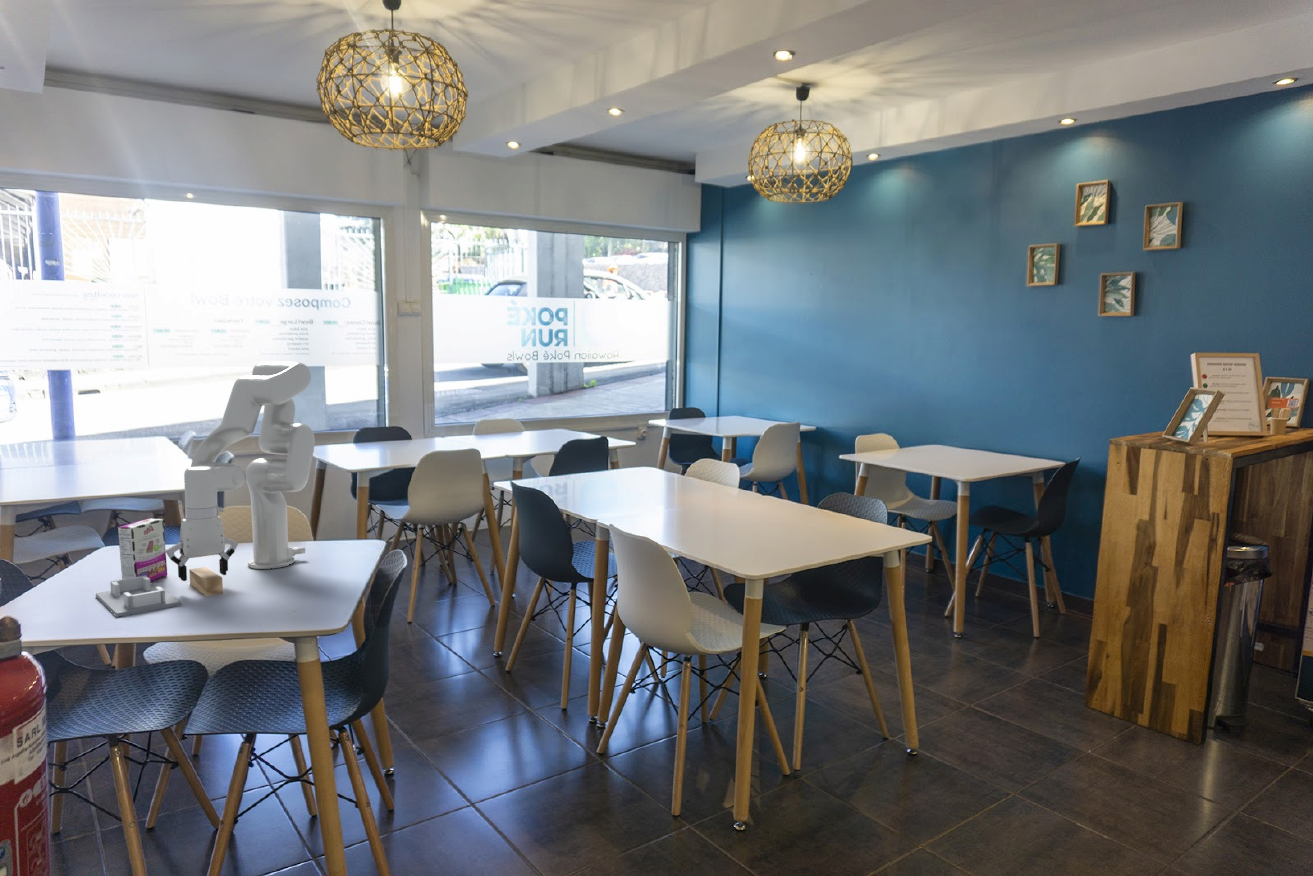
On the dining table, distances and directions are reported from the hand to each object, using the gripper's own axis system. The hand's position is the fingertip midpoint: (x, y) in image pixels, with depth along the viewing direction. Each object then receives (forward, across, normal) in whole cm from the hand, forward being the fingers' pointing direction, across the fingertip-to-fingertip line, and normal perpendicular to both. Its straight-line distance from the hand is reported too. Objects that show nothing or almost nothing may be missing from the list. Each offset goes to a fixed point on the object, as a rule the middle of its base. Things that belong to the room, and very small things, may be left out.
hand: (203, 577), depth 227 cm
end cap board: (+4, +15, 0) cm, 16 cm away
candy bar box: (+4, +9, -19) cm, 22 cm away
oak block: (+4, -1, 0) cm, 4 cm away
